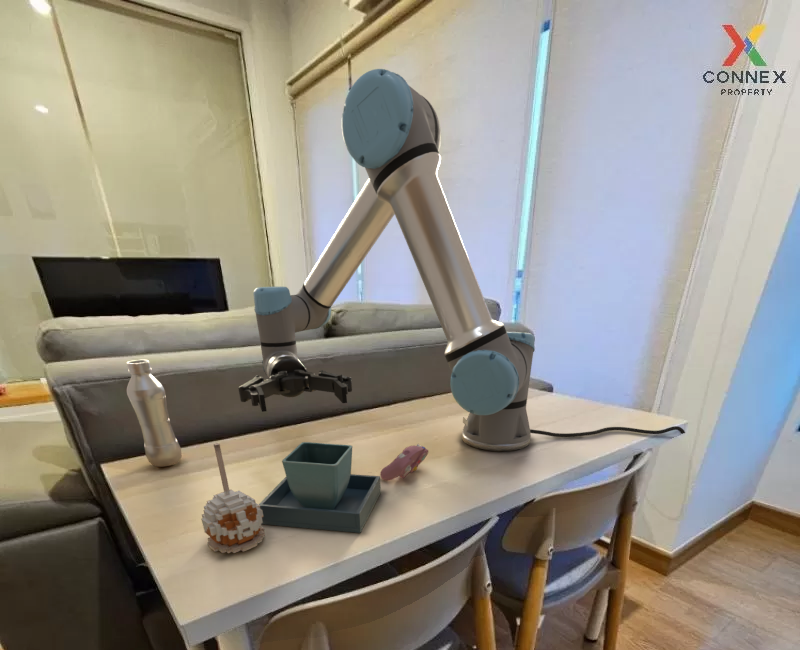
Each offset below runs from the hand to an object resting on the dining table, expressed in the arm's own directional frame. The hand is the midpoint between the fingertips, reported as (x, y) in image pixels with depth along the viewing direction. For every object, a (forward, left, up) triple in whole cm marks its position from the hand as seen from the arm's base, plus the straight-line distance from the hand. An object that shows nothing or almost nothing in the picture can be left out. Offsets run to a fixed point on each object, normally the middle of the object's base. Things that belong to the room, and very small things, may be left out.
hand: (304, 399), depth 77 cm
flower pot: (-5, +9, -15) cm, 18 cm away
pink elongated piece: (-16, -8, -16) cm, 24 cm away
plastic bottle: (+33, -5, -16) cm, 37 cm away
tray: (-5, +8, -16) cm, 18 cm away
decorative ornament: (+4, +21, -16) cm, 27 cm away
